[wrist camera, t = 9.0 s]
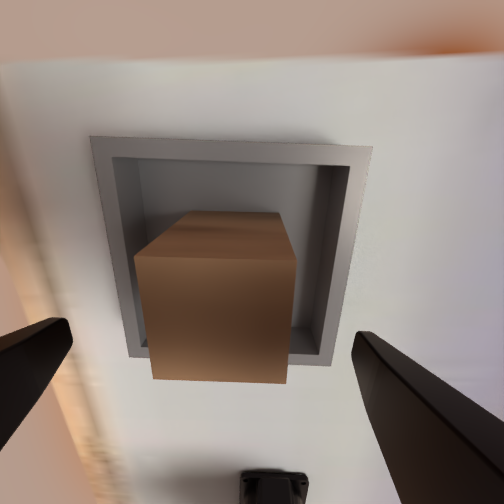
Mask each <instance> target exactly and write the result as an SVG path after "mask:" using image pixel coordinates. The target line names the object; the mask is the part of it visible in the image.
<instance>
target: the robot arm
mask: <svg viewBox="0 0 504 504" xmlns="http://www.w3.org/2000/svg"><path fill="white" fill-rule="evenodd" d="M72 343H73V337H72V334H71V330H70V326H69V323H68V320H67V319H65V318H59V317H51V318H48V319H45V320H43V321H40V322H37V323H35V324H32V325H30V326H27V327H25V328H22V329H19V330H17V331H14V332H12V333H9V334H6V335H4V336H1V337H0V451H1V450H2V448H3V447H4V446H5V444H6V443H7V441H8V440H9V438H10V437H11V436H12V435H13V433H14V432H15V431H16V429H17V428H18V427H19V425H20V424H21V422H22V421H23V420H24V418H25V417H26V416H27V414H28V413H29V411H30V410H31V409H32V407H33V406H34V405H35V403H36V402H37V401H38V399H39V398H40V396H41V395H42V393H43V392H44V390H45V389H46V387H47V386H48V384H49V382H50V381H51V379H52V378H53V376H54V374H55V373H56V371H57V369H58V368H59V366H60V365H61V363H62V361H63V360H64V358H65V356H66V355H67V353H68V352H69V350H70V348H71V346H72ZM351 357H352V362H353V366H354V369H355V373H356V377H357V380H358V384H359V388H360V391H361V395H362V399H363V402H364V406H365V409H366V412H367V415H368V418H369V420H370V423H371V425H372V428H373V431H374V433H375V436H376V438H377V441H378V444H379V446H380V449H381V451H382V454H383V457H384V459H385V462H386V464H387V467H388V470H389V472H390V475H391V477H392V480H393V483H394V485H395V488H396V490H397V493H398V496H399V498H400V501H401V503H402V504H504V422H503V421H502V420H500V419H499V418H497V417H496V416H494V415H493V414H491V413H490V412H488V411H487V410H485V409H484V408H483V407H481V406H480V405H478V404H477V403H475V402H474V401H472V400H471V399H469V398H468V397H466V396H465V395H463V394H462V393H461V392H459V391H458V390H456V389H455V388H453V387H452V386H450V385H449V384H447V383H446V382H444V381H443V380H441V379H440V378H439V377H437V376H436V375H434V374H433V373H431V372H430V371H428V370H427V369H425V368H424V367H422V366H421V365H419V364H418V363H417V362H415V361H414V360H412V359H411V358H409V357H408V356H406V355H405V354H403V353H402V352H400V351H399V350H397V349H396V348H395V347H393V346H392V345H390V344H389V343H387V342H386V341H384V340H383V339H381V338H380V337H378V336H377V335H375V334H374V333H372V332H370V331H358V332H357V333H356V335H355V339H354V343H353V348H352V352H351ZM308 486H309V481H308V477H307V476H305V475H289V474H269V473H249V472H244V473H242V474H241V475H240V504H305V502H306V496H307V491H308Z"/></svg>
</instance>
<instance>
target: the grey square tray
mask: <svg viewBox="0 0 504 504" xmlns="http://www.w3.org/2000/svg"><path fill="white" fill-rule="evenodd" d="M90 141H91V147H92V152H93V158H94V163H95V169H96V175H97V180H98V186H99V191H100V197H101V203H102V208H103V214H104V219H105V225H106V231H107V236H108V242H109V247H110V253H111V259H112V264H113V270H114V275H115V281H116V287H117V292H118V298H119V303H120V309H121V315H122V320H123V326H124V331H125V337H126V343H127V348H128V354H129V357H135V358H150V355H149V349H148V343H147V337H146V330H145V324H144V318H143V312H142V305H141V299H140V293H139V286H138V280H137V274H136V268H135V261H134V256H135V255H136V254H137V253H138V252H140V251H141V250H142V249H143V248H145V247H146V246H147V245H148V244H150V243H151V242H152V241H153V240H155V239H156V238H157V237H158V236H160V235H161V234H162V233H163V232H165V231H166V230H167V229H168V228H170V227H171V226H172V225H174V224H175V223H176V222H177V221H179V220H180V219H181V218H182V217H184V216H185V215H186V214H187V213H189V212H190V211H191V210H192V211H231V212H271V213H280V216H281V219H282V221H283V224H284V227H285V229H286V232H287V235H288V237H289V240H290V243H291V245H292V248H293V251H294V253H295V256H296V259H297V269H296V280H295V291H294V302H293V313H292V324H291V335H290V345H289V356H288V365H310V366H331V363H332V358H333V353H334V347H335V342H336V337H337V332H338V326H339V321H340V316H341V311H342V305H343V300H344V295H345V290H346V285H347V279H348V274H349V269H350V264H351V258H352V253H353V248H354V243H355V237H356V232H357V227H358V222H359V216H360V211H361V206H362V201H363V195H364V190H365V185H366V180H367V175H368V169H369V164H370V159H371V154H372V148H373V146H347V145H320V144H293V143H266V142H239V141H212V140H185V139H157V138H130V137H103V136H90Z"/></svg>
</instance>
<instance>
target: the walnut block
mask: <svg viewBox="0 0 504 504" xmlns="http://www.w3.org/2000/svg"><path fill="white" fill-rule="evenodd" d="M134 261H135V268H136V274H137V280H138V286H139V293H140V299H141V305H142V312H143V318H144V324H145V330H146V337H147V343H148V349H149V355H150V362H151V368H152V374H153V379H162V380H190V381H219V382H247V383H275V384H286V378H287V367H288V356H289V345H290V335H291V324H292V313H293V302H294V291H295V280H296V269H297V259H296V256H295V253H294V251H293V248H292V245H291V243H290V240H289V237H288V235H287V232H286V229H285V227H284V224H283V221H282V219H281V216H280V213H271V212H231V211H192V210H191V211H190V212H189V213H187V214H186V215H185V216H184V217H182V218H181V219H180V220H179V221H177V222H176V223H175V224H174V225H172V226H171V227H170V228H168V229H167V230H166V231H165V232H163V233H162V234H161V235H160V236H158V237H157V238H156V239H155V240H153V241H152V242H151V243H150V244H148V245H147V246H146V247H145V248H143V249H142V250H141V251H140V252H138V253H137V254H136V255H135V256H134Z"/></svg>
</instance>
